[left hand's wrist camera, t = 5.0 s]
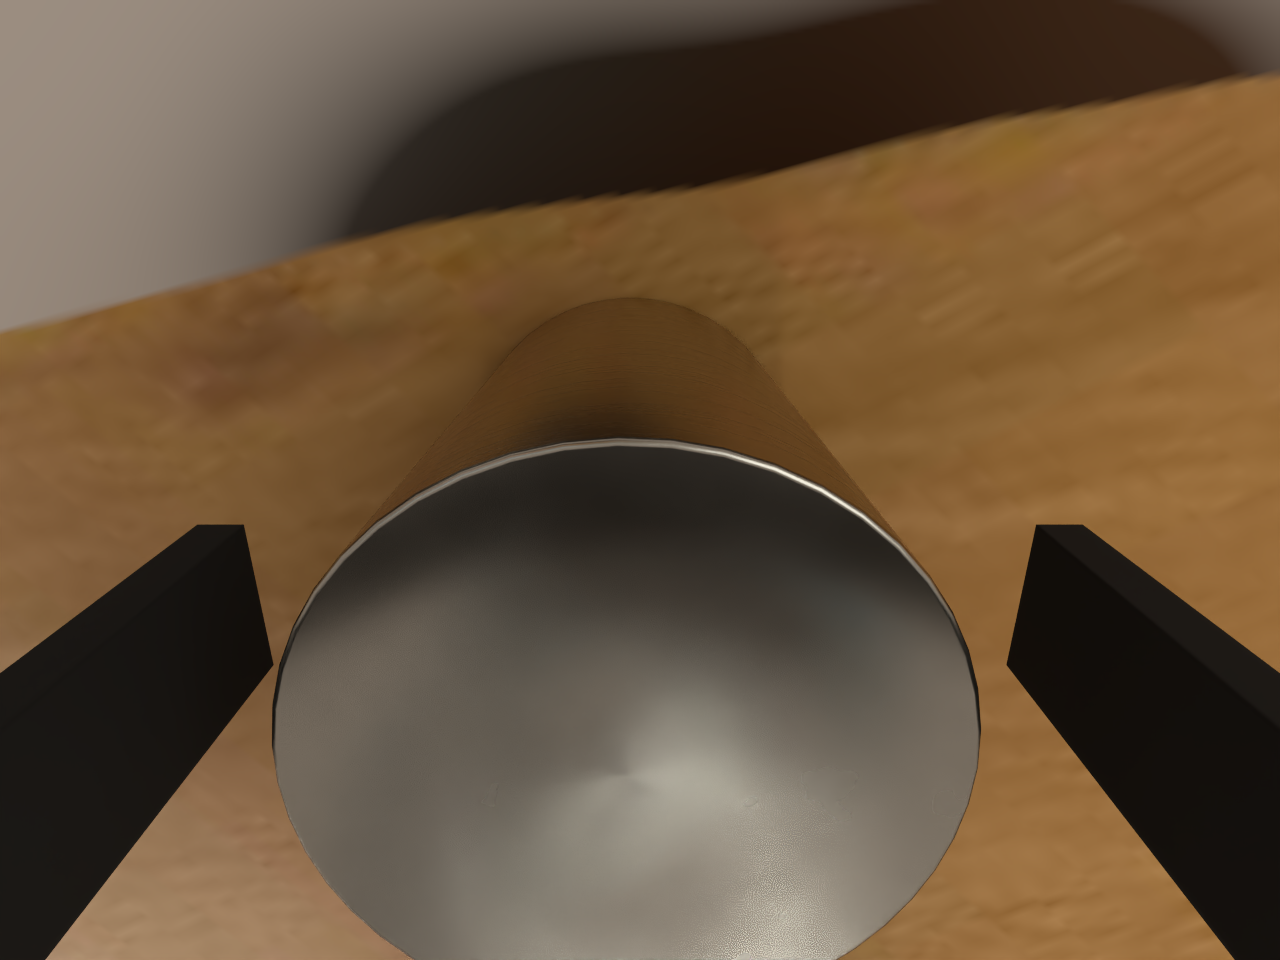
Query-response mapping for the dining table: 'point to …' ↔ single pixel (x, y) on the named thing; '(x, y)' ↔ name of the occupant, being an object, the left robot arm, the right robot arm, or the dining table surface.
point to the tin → (626, 673)
